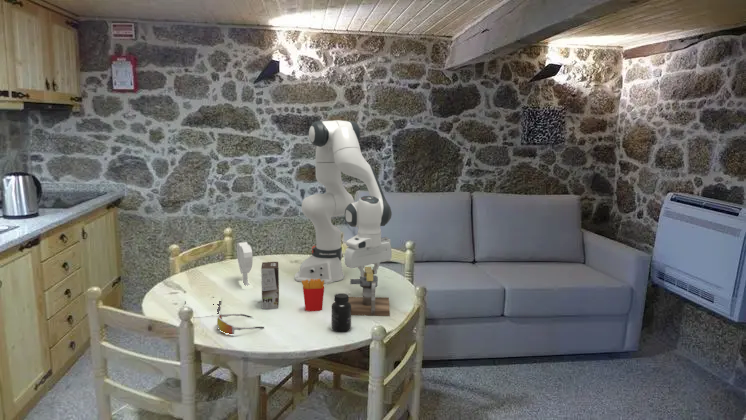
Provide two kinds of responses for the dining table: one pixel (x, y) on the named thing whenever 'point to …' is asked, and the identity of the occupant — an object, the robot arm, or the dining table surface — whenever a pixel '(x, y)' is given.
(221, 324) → the sunglasses
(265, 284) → the coffee box
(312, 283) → the french fries
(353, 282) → the coupling
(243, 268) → the heart sculpture
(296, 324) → the dining table surface
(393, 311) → the dining table surface
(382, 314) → the post stand
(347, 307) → the supplement bottle
